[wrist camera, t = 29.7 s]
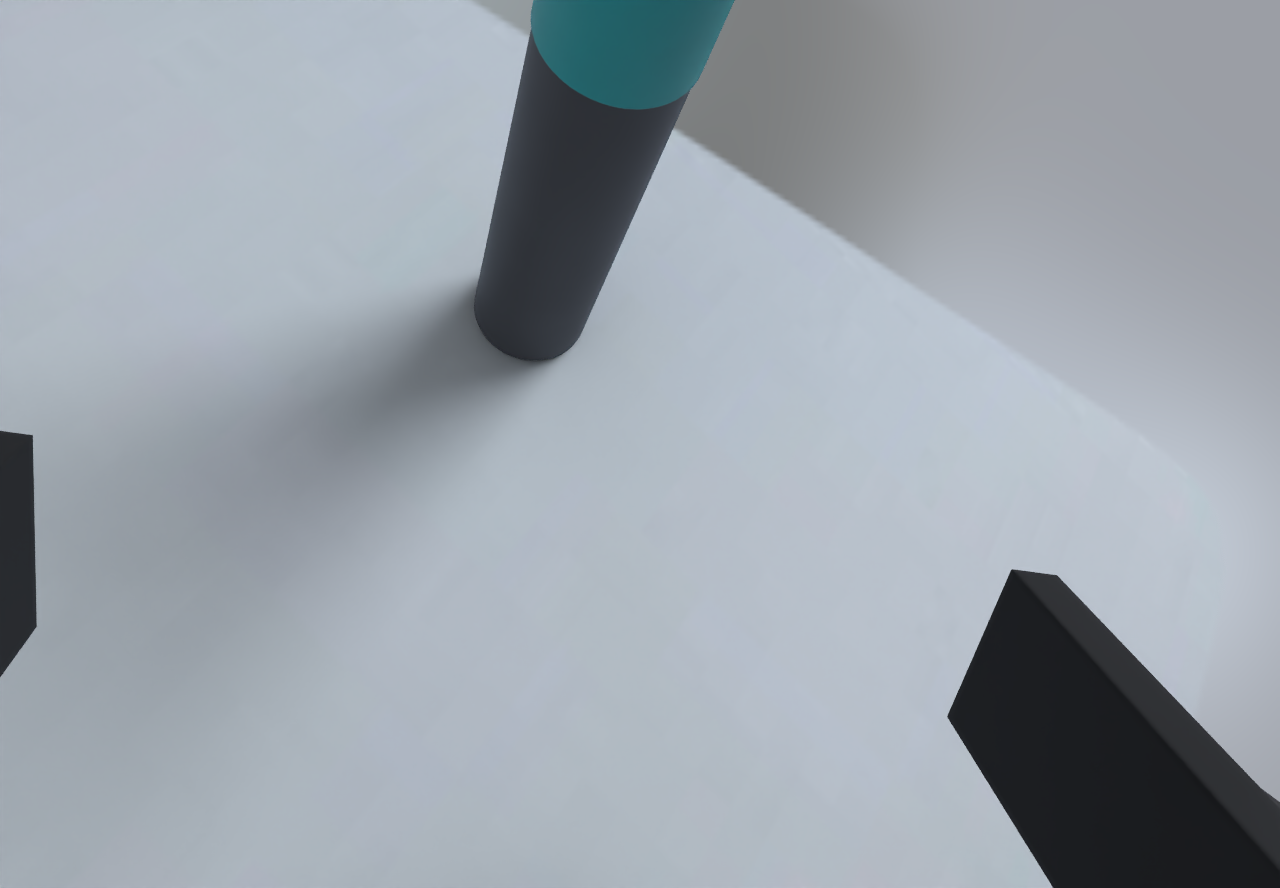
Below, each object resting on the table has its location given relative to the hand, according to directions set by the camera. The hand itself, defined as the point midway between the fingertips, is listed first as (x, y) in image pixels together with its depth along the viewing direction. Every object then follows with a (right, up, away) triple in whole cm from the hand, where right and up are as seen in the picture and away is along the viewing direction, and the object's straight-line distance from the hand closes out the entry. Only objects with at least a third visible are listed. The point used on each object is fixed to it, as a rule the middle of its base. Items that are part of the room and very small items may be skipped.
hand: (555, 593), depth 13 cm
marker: (-1, +5, +10) cm, 11 cm away
